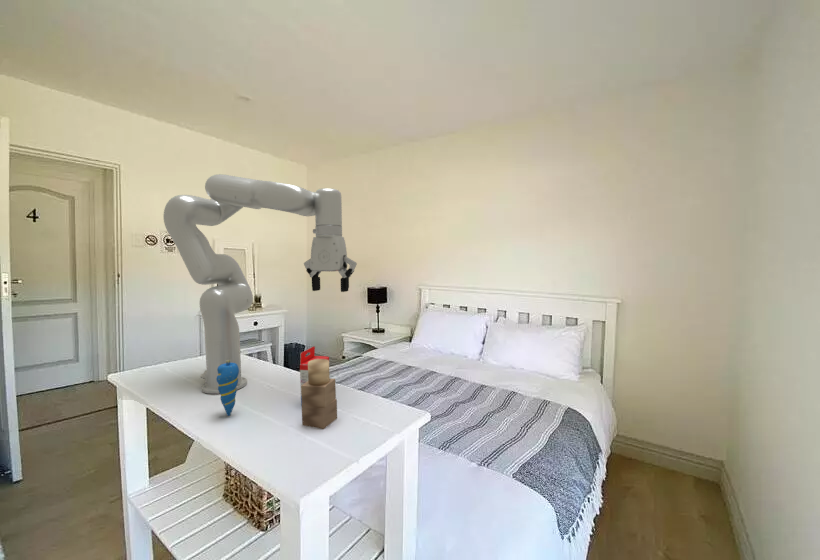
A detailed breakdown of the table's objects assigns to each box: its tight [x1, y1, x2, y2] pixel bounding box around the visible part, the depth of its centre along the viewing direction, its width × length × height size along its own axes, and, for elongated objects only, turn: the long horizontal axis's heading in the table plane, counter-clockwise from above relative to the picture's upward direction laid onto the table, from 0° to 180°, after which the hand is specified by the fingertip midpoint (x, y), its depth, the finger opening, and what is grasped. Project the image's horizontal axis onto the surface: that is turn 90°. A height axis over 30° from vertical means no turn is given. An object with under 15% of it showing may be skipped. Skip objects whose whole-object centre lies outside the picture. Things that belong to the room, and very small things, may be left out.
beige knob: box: [308, 359, 331, 386], centre depth 87 cm, size 5×5×5 cm
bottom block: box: [301, 398, 338, 430], centre depth 88 cm, size 6×6×5 cm
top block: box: [300, 377, 337, 408], centre depth 88 cm, size 6×6×5 cm
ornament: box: [217, 359, 239, 417], centre depth 91 cm, size 5×5×15 cm
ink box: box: [299, 346, 330, 407], centre depth 100 cm, size 8×5×15 cm, turn 168°
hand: (330, 291), depth 106 cm, fingers open, 9 cm apart
